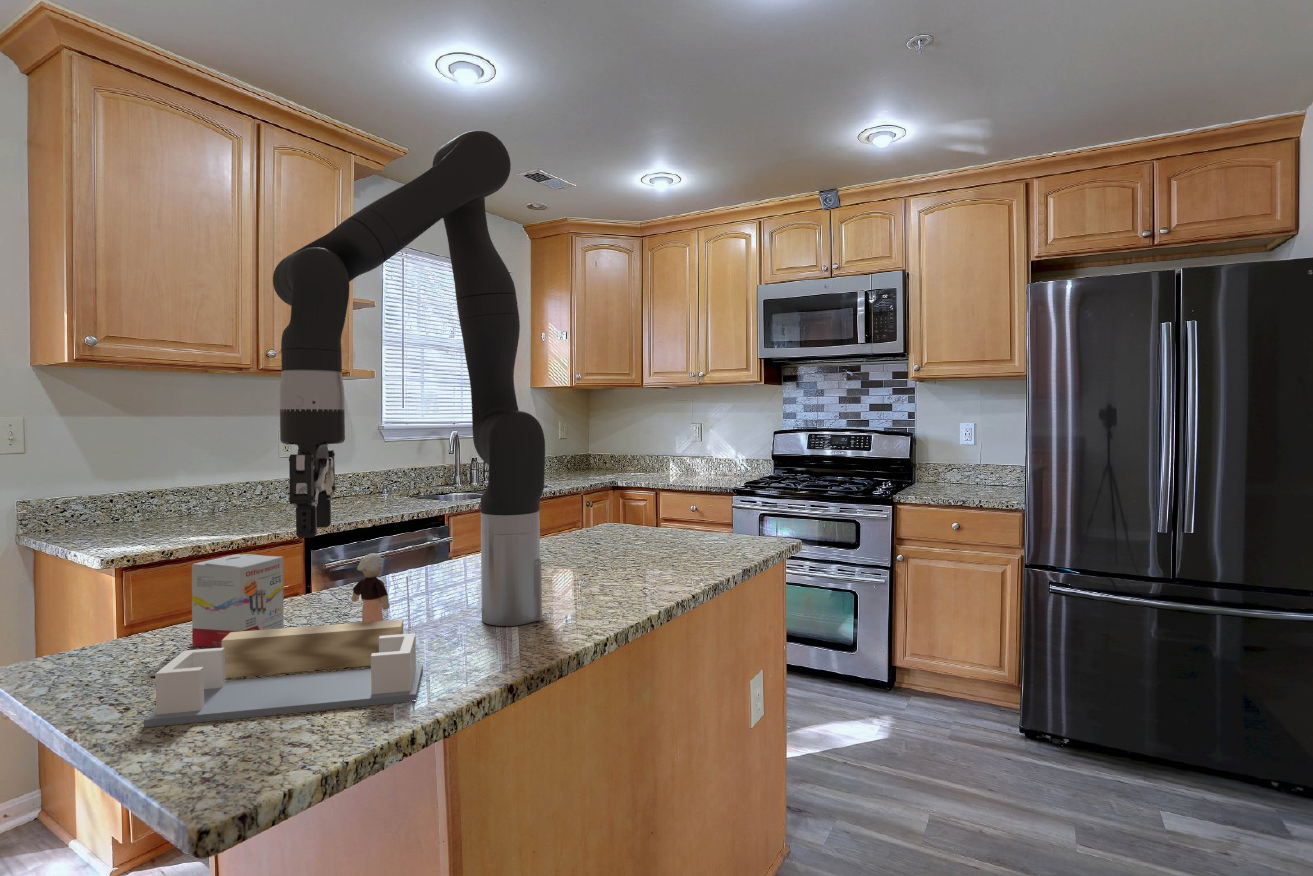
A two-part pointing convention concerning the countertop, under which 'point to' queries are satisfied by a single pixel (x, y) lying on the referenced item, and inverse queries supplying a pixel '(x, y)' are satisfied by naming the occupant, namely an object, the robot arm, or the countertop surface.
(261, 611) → the ink box
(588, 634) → the countertop surface
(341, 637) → the oak slat
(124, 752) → the countertop surface
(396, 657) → the end-cap board
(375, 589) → the grandmother figurine
